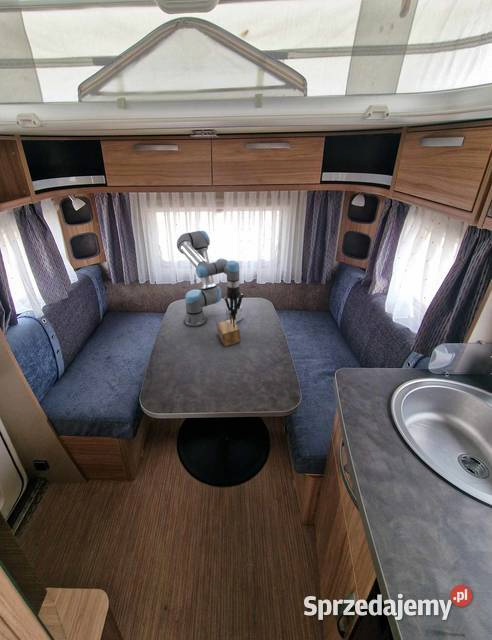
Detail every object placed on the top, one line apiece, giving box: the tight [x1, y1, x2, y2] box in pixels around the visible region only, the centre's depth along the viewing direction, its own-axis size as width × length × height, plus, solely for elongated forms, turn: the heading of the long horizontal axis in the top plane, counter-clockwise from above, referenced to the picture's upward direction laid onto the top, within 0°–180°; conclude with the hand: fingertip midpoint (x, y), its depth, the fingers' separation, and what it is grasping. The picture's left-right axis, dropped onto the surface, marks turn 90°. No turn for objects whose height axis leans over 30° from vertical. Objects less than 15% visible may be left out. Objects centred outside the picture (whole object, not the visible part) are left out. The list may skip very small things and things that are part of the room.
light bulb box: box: [225, 304, 243, 324], centre depth 206 cm, size 11×7×11 cm, turn 134°
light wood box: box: [216, 313, 241, 348], centre depth 183 cm, size 11×13×17 cm
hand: (233, 318), depth 182 cm, fingers closed
